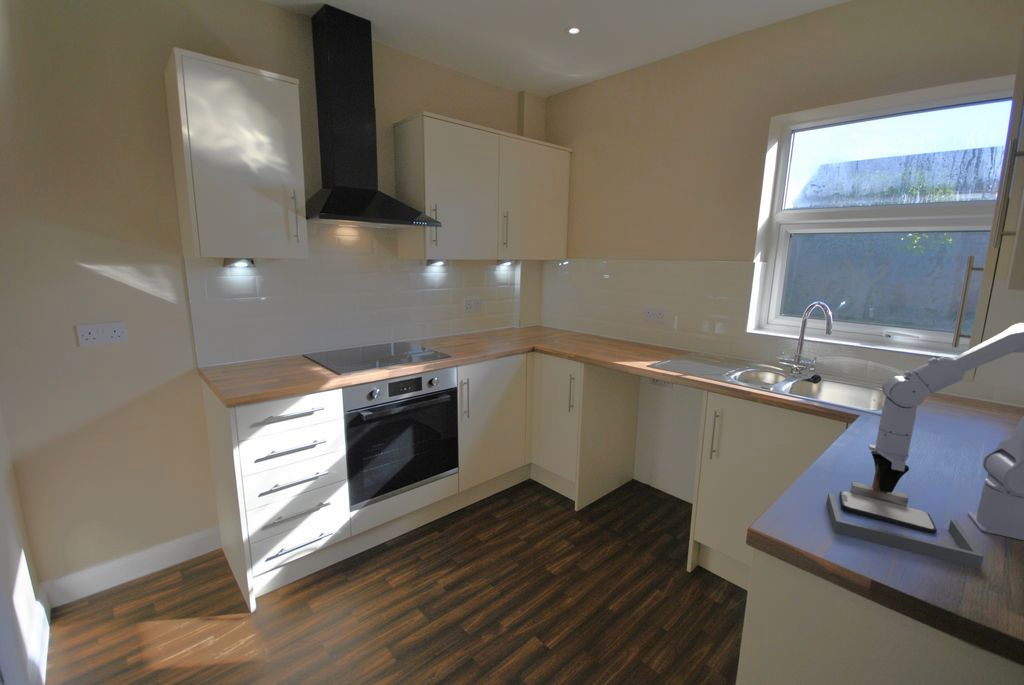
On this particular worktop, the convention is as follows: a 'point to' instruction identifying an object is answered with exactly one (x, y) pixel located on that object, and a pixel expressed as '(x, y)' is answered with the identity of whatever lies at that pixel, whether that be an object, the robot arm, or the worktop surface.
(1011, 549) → the worktop surface
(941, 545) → the dock
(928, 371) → the robot arm
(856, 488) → the scraper
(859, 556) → the worktop surface
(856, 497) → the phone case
